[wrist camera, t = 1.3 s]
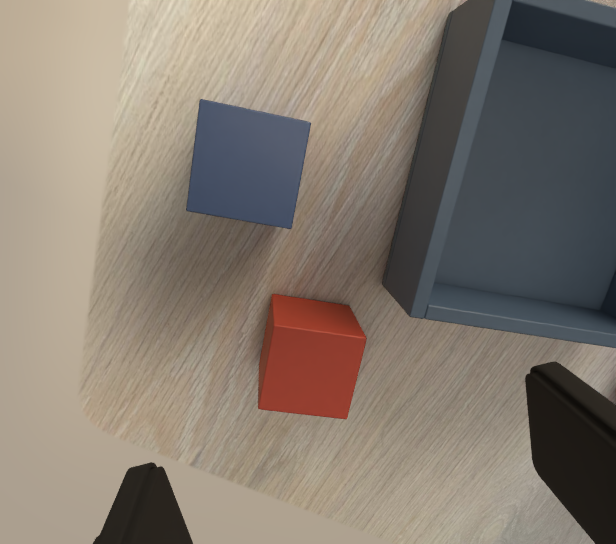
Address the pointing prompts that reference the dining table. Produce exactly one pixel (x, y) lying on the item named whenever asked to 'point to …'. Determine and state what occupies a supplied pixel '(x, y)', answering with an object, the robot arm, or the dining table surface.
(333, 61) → the dining table surface
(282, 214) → the blue block
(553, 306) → the slate bin
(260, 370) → the red block
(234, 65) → the dining table surface
